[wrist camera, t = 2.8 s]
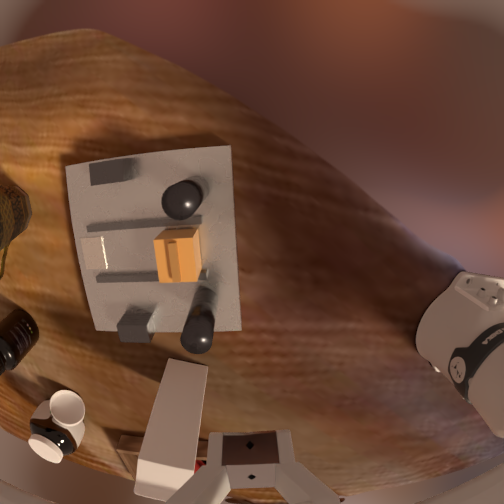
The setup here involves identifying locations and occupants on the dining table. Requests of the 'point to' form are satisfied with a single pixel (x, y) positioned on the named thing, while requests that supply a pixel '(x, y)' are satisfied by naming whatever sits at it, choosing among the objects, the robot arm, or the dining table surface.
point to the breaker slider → (178, 255)
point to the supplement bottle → (16, 338)
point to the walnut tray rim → (132, 447)
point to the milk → (172, 431)
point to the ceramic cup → (12, 217)
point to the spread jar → (57, 426)
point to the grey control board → (142, 245)
